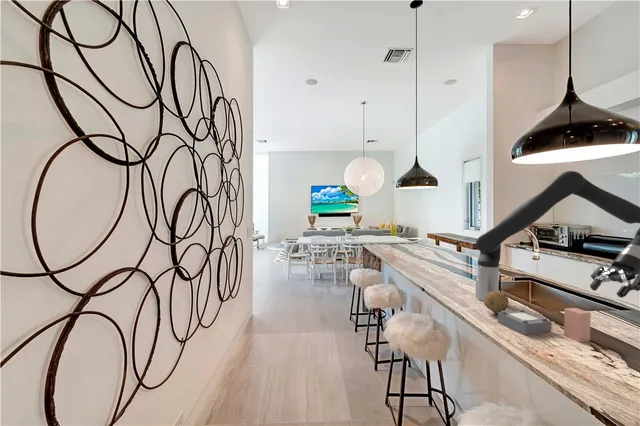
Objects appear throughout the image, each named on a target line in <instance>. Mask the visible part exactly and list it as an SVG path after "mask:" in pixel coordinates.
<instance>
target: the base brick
mask: <svg viewBox="0 0 640 426" xmlns="http://www.w3.org/2000/svg"><path fill="white" fill-rule="evenodd" d="M497 323H498V324H500V325H503V326H504V327H507V328H508V329H511V330H513V331H515V332H518V333H519V334H521V335H524V336H529V335H538V334H544V333H545V334H546V333H547V334H548V333H551V332H552V321H551V320H548V318H547V317H540V316H538V315H535V314H532V313H530V312H527V311H525V309H524V308H520V309H519V310H511V311H506V310H505V311H501V312H499V313H498V314H497Z"/></svg>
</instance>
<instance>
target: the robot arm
mask: <svg viewBox="0 0 640 426" xmlns="http://www.w3.org/2000/svg"><path fill="white" fill-rule="evenodd" d="M571 195H575V196H578V197H580V198H582V199H584V200H585V201H588V202H589V203H592V204H593V205H594V206H596V207H598V208H600V209H601V210H602V211H604V212H606V213H608V214H610V215H611V216H612V217H615V218H617V219H618V220H621V221H622V222H624V223H626V224H630V225H633V224H640V206H638V205H637V204H635V203H632V202H630V201H629V200H626V199H624V198H622V197H620V196H618V195H616V194H614V193H612V192H609V191H607V190H604V189H603V188H600V187H599V186H597V185H595V184H594V183H592V182H591V181H589V180H587V178H585V177H584V175H582V174H581V173H580V172H578V171H575V170H568V171H563V172H562V173H560V174H559V175H558V176H557V177H556V178H555V179H554V180H553V181H552V182H551V183H550V184H549V185H547V186H546V188H545V189H543V190H541V192H539V193H537V194H536V195H534V196H533V197H531V198H529V199H527V200H526V201H525V202H523V203H522V204H520V205H519V206H518V207H516V208H515V209H514V210H512V211H511V212H510V213H509V214H507V216H505V218H502V220H501V221H500V222H499V223H498V224H497V225H495V226H494V227H493V228H491V229H490V230H488V231H486V232H485V233H483V234H482V235H480V236H479V237H478V238H477V239H476V242H475V246H476V249H477V250H478V251H479V257H478V259H477V278H476V279H475V298H477V299H478V300H480V301H482V302H484V299H485V297H486V295H487V294H488V293H490V292H492V291H498V292H499V285H500V284H499V283H500V282H499V280H500V279H499V278H500V277H499V276H500V274H499V271H500V267H499V266H500V261H501V252H502V250H501V249H502V247H501V246H502V243H503V242H504V241H506V240H507V239H509V238H510V237H511V236H514V235H515V234H518V233H519V232H521V231H523V230H525V229H527V228H528V227H530V226H531V225H533V224H534V223H536V221H538V220H539V219H540V218H542V217H543V216H544V215H545V214H547V212H549V211H550V210H551V209H552V208H553V207H554V206H555V205H556V204H559V202H561V201H562V200H564V199H566V198H568V197H569V196H571ZM590 278H591V279H592V280H593V281H592V282H591V283H590V284H589V286H590V289H591V290H592V291H594V292H595V291H597V290H598V289H599V287H600V286H601V285H602V284H604V283H609V282H611V281H612V282H616V283H620V284H623V285H622V286H621V287H620V288H619V289H618V290H617V291H616V295H617V297H618V298H624V297H626V296H627V295H628V294H629V293H630V292H631V291H635V292H636V291H637V292H639V291H640V227H639V228H638V229H637V230H636V232H635V234H634V237H633V238H632V239H631V241H630V242H629V243H628V244H627V245H626V247H624V248H623V249H622V250H621V251H620V252H619V254H618V255H617V256H616V258H615V259H614V260H612V262H611V266H610V267H608V268H605V267H604V266H603V265H600V266H598V267H597V268H596V269H595V270H594V272H592V273H591V275H590ZM632 280H633V282H631V281H632Z"/></svg>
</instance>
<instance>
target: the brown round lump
mask: <svg viewBox="0 0 640 426" xmlns="http://www.w3.org/2000/svg"><path fill="white" fill-rule="evenodd" d="M509 303H510V301H509V298H508V296H506V294H505V293H504V292H502V291H499V290H498V291H492V292H490V293H488V294H487V295H486V297H485V299H484V301H483V305H484V306H485V307H486V308H487V309H488V310H490V311H491V312H493V313H494V314H496V315H498V313H499V312H501V311H506V310H507V308H508V306H509Z"/></svg>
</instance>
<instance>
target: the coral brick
mask: <svg viewBox="0 0 640 426" xmlns="http://www.w3.org/2000/svg"><path fill="white" fill-rule="evenodd" d="M563 313H564V316H563V318H564V319H563V321H564V322H563V336H564V337H565V336H566V338H568V339H570V338H571V339H570V340H573V341H575V340H576V342H577V341H578V342H577V343H583V342H584V343H585V342H590V341H591V315H592V314H591V313H592V312H590V311H588V310H583V309H580V308H577V307H570V308H564V312H563Z"/></svg>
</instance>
